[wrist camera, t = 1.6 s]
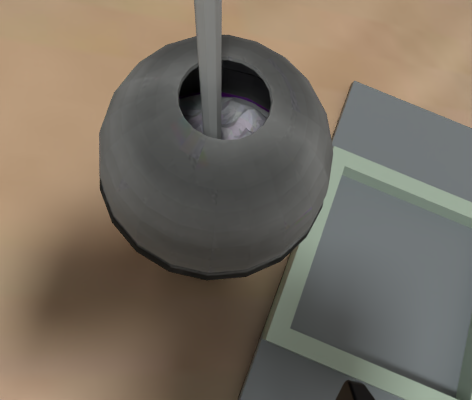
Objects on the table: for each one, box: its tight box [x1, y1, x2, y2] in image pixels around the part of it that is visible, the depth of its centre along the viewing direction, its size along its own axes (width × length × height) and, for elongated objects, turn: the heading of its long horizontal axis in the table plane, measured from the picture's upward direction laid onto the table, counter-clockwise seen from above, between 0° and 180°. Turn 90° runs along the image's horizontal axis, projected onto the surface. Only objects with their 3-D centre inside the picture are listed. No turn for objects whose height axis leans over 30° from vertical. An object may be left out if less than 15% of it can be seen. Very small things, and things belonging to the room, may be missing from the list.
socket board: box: [238, 81, 472, 400], centre depth 23 cm, size 22×12×2 cm, turn 158°
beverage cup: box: [99, 0, 333, 280], centre depth 14 cm, size 7×7×20 cm
